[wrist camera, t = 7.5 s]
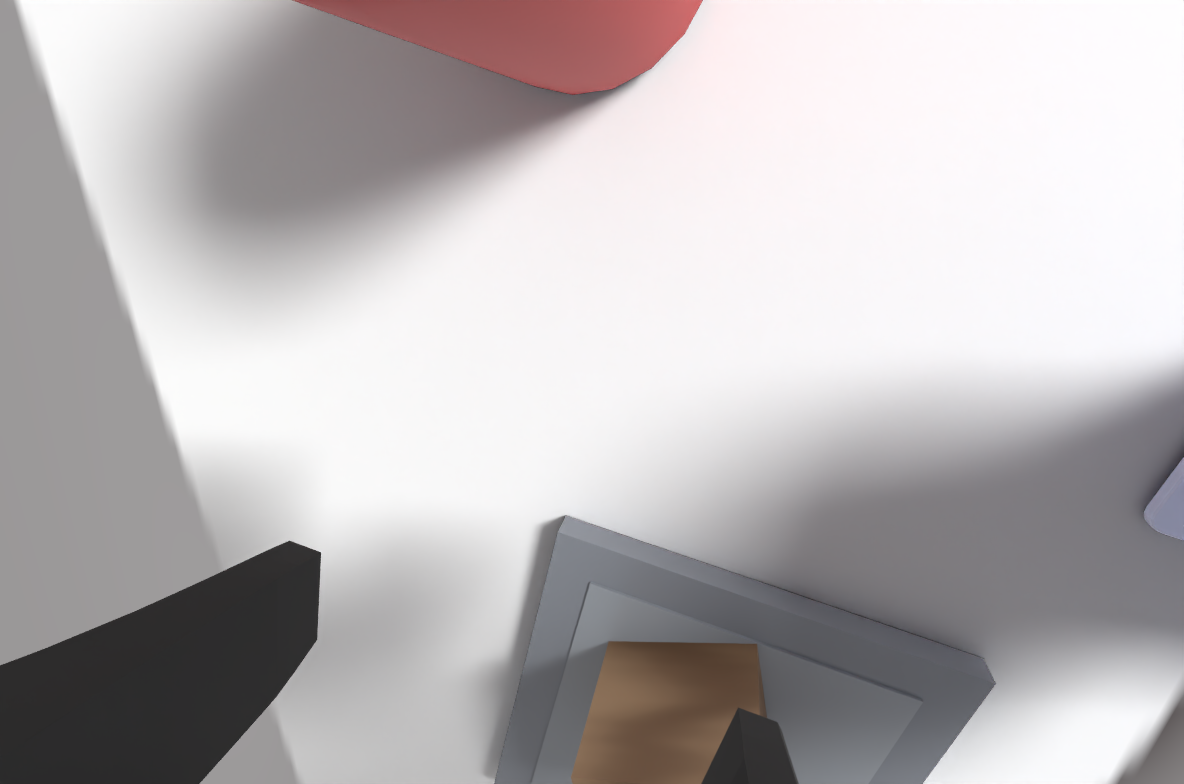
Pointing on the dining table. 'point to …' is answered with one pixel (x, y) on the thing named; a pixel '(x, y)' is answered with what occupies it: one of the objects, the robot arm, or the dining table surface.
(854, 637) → the coaster
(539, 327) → the dining table surface
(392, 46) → the dining table surface
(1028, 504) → the dining table surface
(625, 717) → the walnut block
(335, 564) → the dining table surface
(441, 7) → the beer can
